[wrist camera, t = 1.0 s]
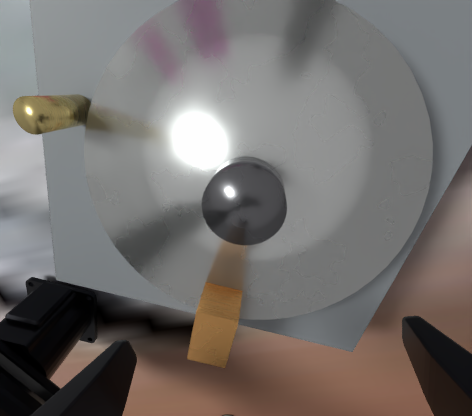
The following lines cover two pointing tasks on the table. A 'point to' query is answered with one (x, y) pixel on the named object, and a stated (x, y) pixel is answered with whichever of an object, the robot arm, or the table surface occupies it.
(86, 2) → the jig block
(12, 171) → the table surface
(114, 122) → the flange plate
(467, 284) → the table surface
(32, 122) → the dowel
